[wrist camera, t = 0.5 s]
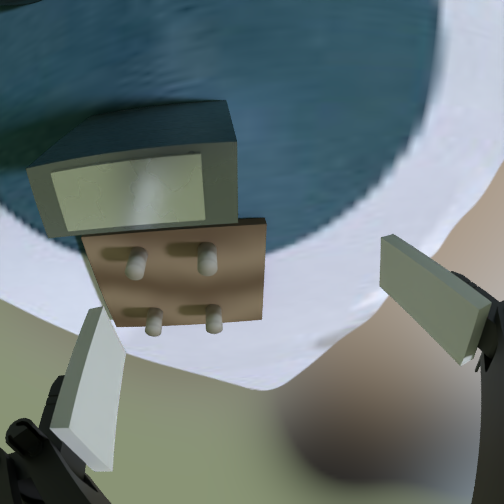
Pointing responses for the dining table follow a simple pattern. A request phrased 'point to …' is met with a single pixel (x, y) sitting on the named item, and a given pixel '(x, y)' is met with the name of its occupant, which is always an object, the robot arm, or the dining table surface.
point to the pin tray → (181, 274)
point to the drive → (140, 171)
